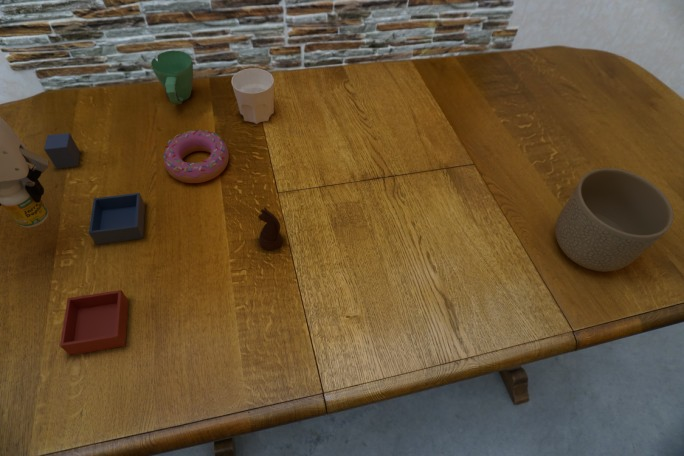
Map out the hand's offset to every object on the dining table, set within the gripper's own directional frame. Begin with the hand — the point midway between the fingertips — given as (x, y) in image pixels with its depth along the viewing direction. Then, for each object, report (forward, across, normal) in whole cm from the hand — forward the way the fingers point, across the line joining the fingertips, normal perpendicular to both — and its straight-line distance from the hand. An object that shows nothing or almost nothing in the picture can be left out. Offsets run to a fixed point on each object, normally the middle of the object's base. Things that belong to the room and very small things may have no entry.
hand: (19, 197), depth 79 cm
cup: (+15, +43, +35) cm, 57 cm away
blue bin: (+15, +12, +4) cm, 19 cm away
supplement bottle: (+5, 0, 0) cm, 5 cm away
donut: (+15, +28, +19) cm, 37 cm away
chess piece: (+14, +42, -6) cm, 45 cm away
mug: (+15, +24, +43) cm, 51 cm away
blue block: (+15, -1, +25) cm, 29 cm away
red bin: (+15, +10, -19) cm, 26 cm away
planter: (+13, +107, -19) cm, 109 cm away
